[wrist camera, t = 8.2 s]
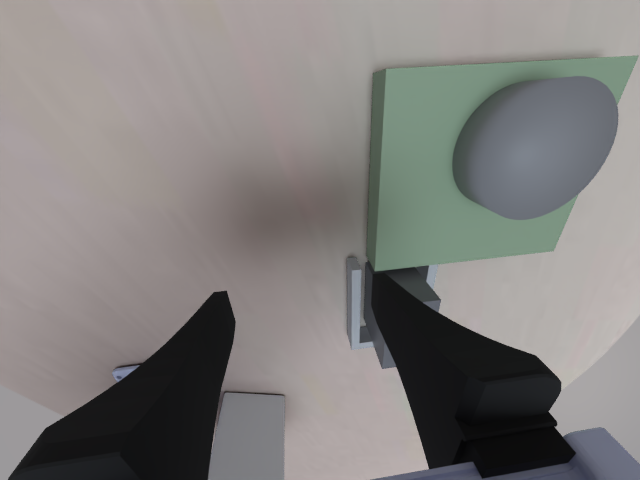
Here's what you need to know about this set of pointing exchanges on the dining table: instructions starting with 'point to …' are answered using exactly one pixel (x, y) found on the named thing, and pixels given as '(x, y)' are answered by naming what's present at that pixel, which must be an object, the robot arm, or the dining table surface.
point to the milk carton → (249, 438)
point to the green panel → (481, 161)
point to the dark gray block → (411, 283)
